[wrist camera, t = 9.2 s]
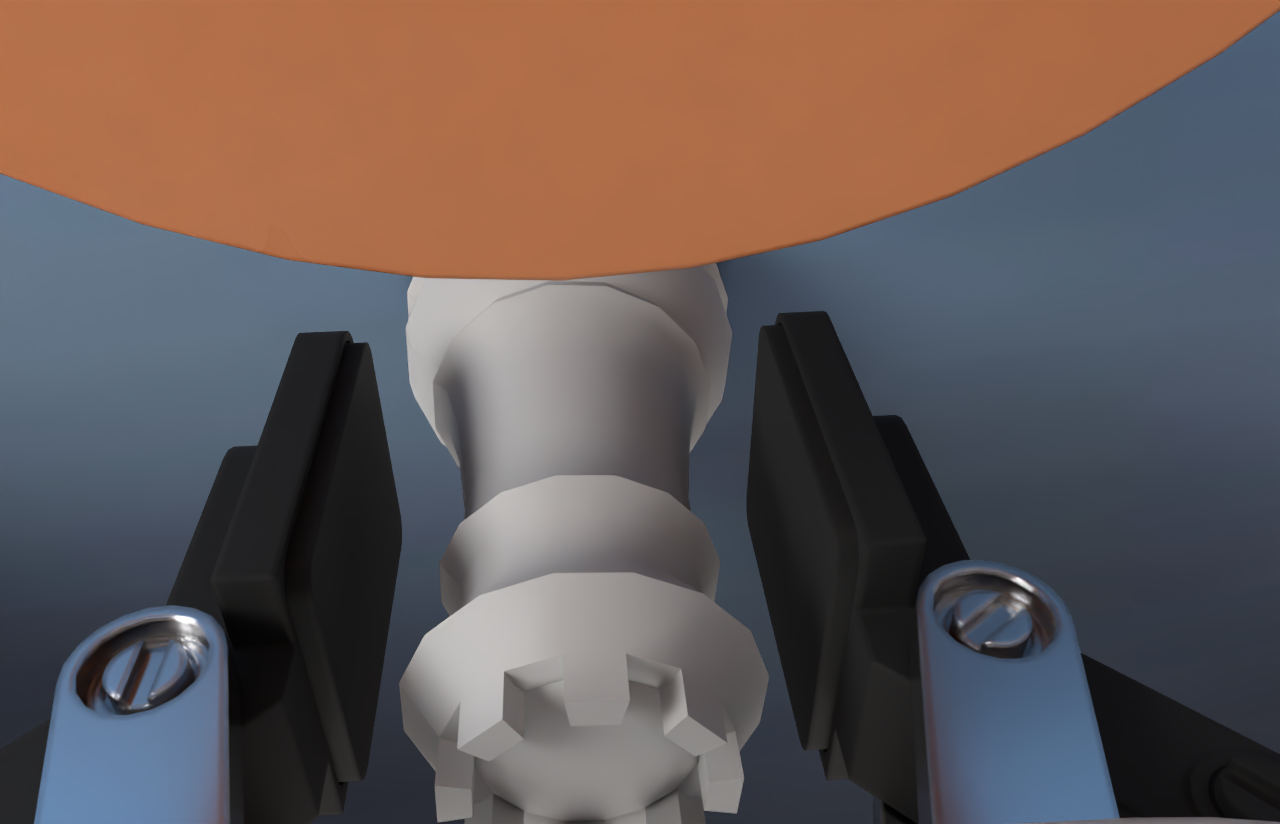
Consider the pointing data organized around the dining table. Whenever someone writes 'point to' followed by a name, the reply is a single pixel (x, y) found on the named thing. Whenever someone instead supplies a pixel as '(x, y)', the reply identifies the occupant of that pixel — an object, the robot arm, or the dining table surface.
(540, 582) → the rook chess piece
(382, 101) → the pot lid
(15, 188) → the dining table surface
